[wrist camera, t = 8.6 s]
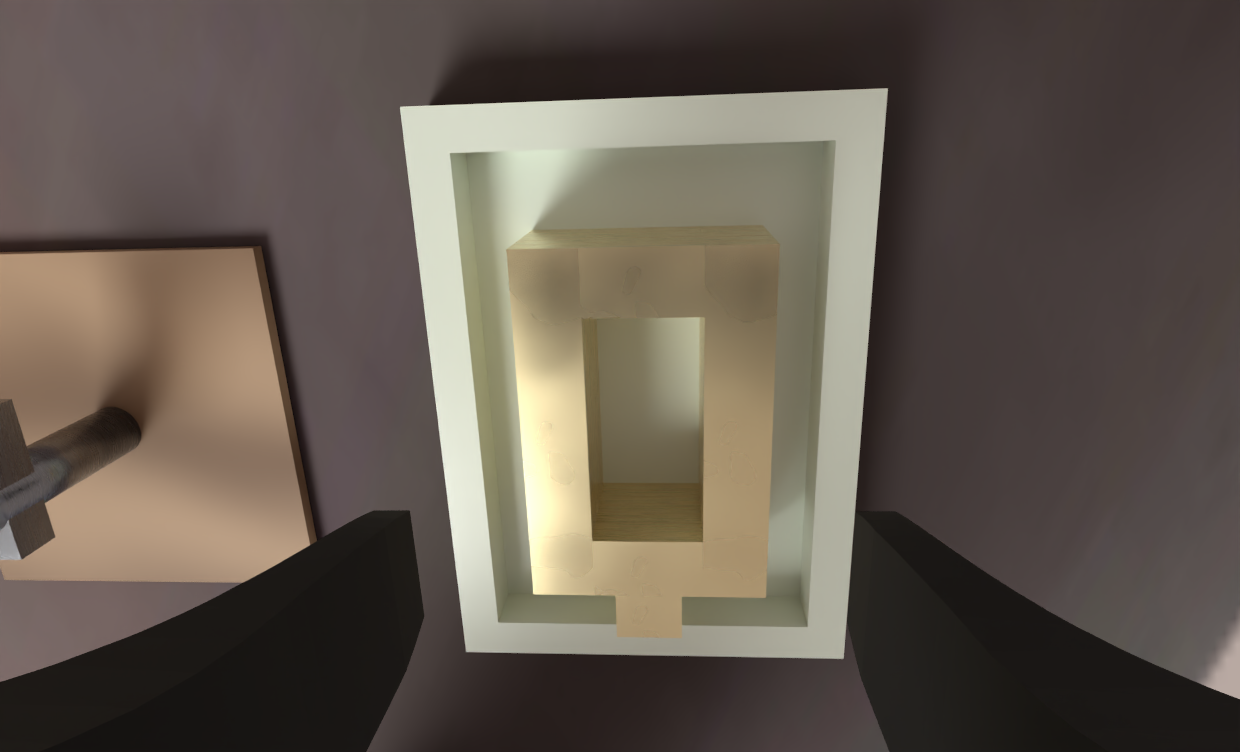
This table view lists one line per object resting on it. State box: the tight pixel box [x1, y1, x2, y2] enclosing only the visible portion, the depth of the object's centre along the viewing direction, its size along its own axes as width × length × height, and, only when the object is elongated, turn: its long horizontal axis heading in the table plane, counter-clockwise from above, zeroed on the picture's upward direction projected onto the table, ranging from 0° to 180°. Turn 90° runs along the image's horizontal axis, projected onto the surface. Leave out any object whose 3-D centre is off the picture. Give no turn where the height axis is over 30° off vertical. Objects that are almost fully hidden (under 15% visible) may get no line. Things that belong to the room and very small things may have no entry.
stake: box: [0, 399, 141, 560], centre depth 19 cm, size 4×1×4 cm, turn 2°
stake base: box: [0, 246, 317, 582], centre depth 21 cm, size 10×10×1 cm
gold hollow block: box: [506, 225, 780, 638], centre depth 18 cm, size 6×10×3 cm, turn 2°
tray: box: [400, 88, 888, 659], centre depth 19 cm, size 14×10×2 cm
